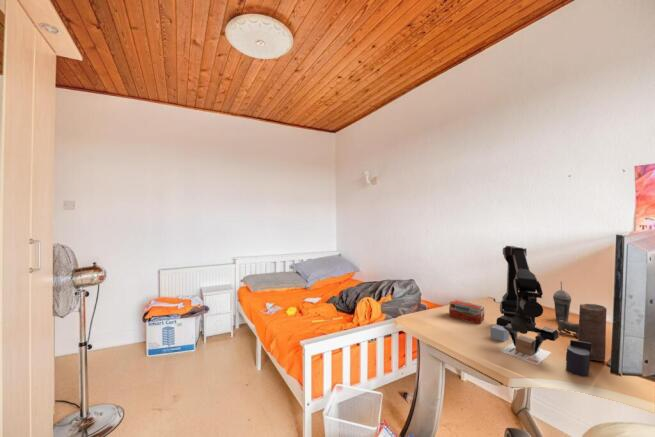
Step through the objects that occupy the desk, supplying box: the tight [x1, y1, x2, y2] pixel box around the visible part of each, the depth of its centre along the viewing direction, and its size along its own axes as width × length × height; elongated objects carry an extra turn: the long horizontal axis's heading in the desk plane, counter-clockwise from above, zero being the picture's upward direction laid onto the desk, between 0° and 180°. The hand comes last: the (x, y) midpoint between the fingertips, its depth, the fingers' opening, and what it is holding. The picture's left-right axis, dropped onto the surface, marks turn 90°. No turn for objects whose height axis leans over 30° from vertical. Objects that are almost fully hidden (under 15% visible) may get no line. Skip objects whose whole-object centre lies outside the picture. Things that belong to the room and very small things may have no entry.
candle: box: [577, 303, 607, 362], centre depth 100 cm, size 8×7×20 cm
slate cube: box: [490, 324, 510, 343], centre depth 116 cm, size 5×5×5 cm
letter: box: [499, 342, 552, 366], centre depth 104 cm, size 16×12×1 cm
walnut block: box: [516, 334, 536, 356], centre depth 104 cm, size 5×5×5 cm
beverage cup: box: [552, 281, 572, 323], centre depth 139 cm, size 7×7×20 cm
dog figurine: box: [556, 317, 579, 338], centre depth 120 cm, size 12×6×7 cm, turn 44°
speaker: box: [565, 339, 591, 378], centre depth 90 cm, size 8×6×10 cm
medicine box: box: [448, 299, 485, 325], centre depth 140 cm, size 15×8×8 cm, turn 50°
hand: (525, 349), depth 104 cm, fingers open, 6 cm apart
